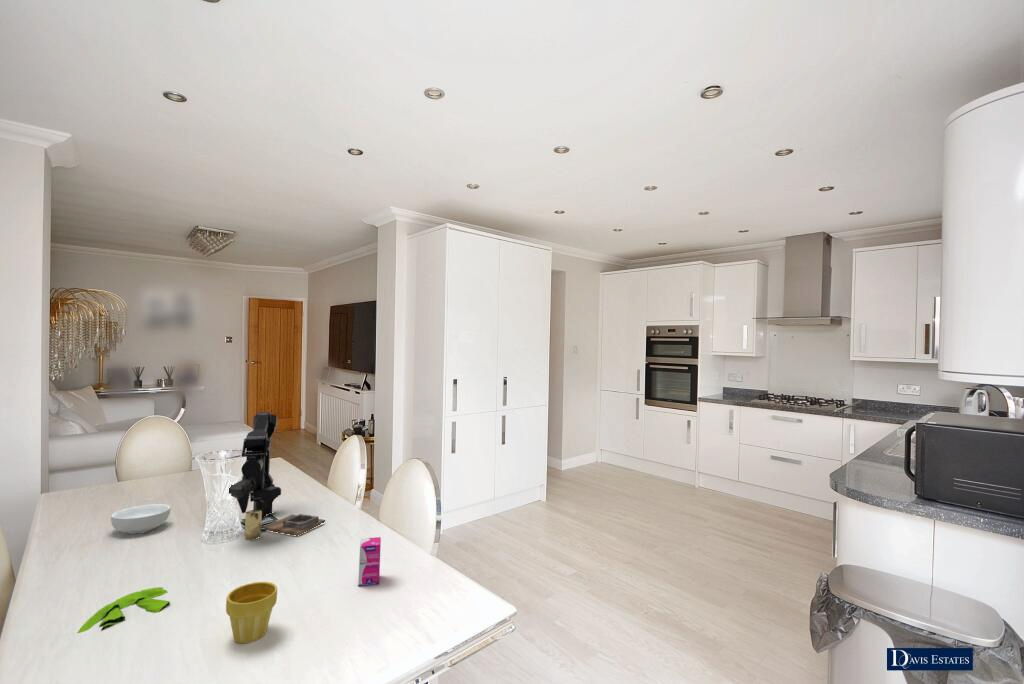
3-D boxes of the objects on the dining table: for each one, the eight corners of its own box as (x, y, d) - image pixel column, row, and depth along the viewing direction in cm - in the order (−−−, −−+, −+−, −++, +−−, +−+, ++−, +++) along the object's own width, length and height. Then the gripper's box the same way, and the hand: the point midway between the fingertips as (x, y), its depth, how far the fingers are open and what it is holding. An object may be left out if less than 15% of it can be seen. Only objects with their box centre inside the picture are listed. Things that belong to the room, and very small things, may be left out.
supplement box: (358, 587, 129) (359, 545, 129) (359, 577, 135) (360, 537, 135) (379, 584, 130) (380, 544, 131) (379, 575, 136) (380, 536, 137)
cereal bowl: (181, 523, 174) (181, 504, 175) (141, 540, 158) (142, 519, 158) (140, 520, 176) (141, 502, 176) (97, 537, 160) (98, 517, 160)
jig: (262, 530, 168) (262, 521, 168) (291, 518, 182) (292, 509, 182) (297, 537, 163) (297, 527, 163) (324, 523, 176) (325, 514, 177)
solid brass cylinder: (241, 539, 160) (242, 513, 161) (253, 534, 165) (254, 508, 165) (252, 541, 159) (253, 515, 159) (264, 536, 163) (265, 510, 164)
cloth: (166, 584, 130) (167, 575, 130) (192, 613, 116) (192, 603, 116) (66, 614, 114) (67, 605, 114) (82, 652, 100) (83, 641, 100)
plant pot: (283, 621, 112) (285, 580, 112) (262, 648, 101) (263, 603, 102) (240, 621, 111) (242, 580, 112) (214, 648, 101) (216, 603, 101)
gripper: (214, 473, 158) (212, 518, 158) (256, 478, 152) (254, 526, 152) (242, 465, 169) (241, 508, 168) (283, 470, 163) (281, 515, 162)
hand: (253, 514), depth 162 cm, fingers open, 9 cm apart
